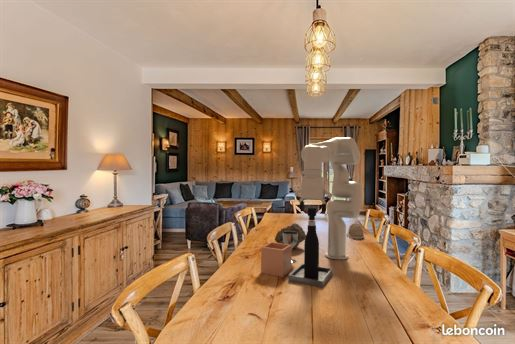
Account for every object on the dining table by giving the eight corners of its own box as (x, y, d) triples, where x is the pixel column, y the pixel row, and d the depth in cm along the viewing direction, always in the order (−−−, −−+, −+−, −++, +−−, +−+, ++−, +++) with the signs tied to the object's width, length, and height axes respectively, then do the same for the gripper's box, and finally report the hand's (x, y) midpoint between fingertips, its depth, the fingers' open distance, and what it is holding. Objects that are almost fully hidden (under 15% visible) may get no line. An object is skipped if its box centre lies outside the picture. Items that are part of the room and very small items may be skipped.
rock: (295, 218, 192) (290, 218, 178) (310, 237, 188) (306, 238, 174) (273, 236, 195) (267, 237, 180) (287, 255, 190) (282, 257, 176)
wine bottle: (302, 272, 140) (303, 207, 140) (316, 272, 140) (317, 207, 140) (306, 277, 134) (306, 209, 133) (320, 277, 134) (321, 209, 134)
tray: (301, 268, 148) (301, 263, 148) (332, 274, 141) (332, 268, 141) (288, 280, 132) (288, 275, 132) (322, 287, 125) (322, 281, 125)
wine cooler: (270, 265, 152) (270, 241, 152) (291, 269, 147) (291, 244, 147) (260, 272, 142) (261, 247, 142) (282, 276, 137) (283, 250, 137)
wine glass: (296, 263, 156) (297, 234, 156) (281, 262, 157) (281, 233, 157) (298, 259, 164) (298, 231, 163) (283, 258, 165) (283, 230, 165)
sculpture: (362, 234, 227) (362, 221, 226) (365, 240, 210) (366, 225, 210) (345, 233, 229) (345, 220, 229) (347, 238, 212) (348, 224, 212)
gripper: (291, 173, 137) (291, 211, 137) (330, 174, 129) (329, 214, 129) (297, 173, 143) (297, 209, 144) (334, 173, 136) (333, 212, 136)
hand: (312, 211), depth 137 cm, fingers open, 9 cm apart
